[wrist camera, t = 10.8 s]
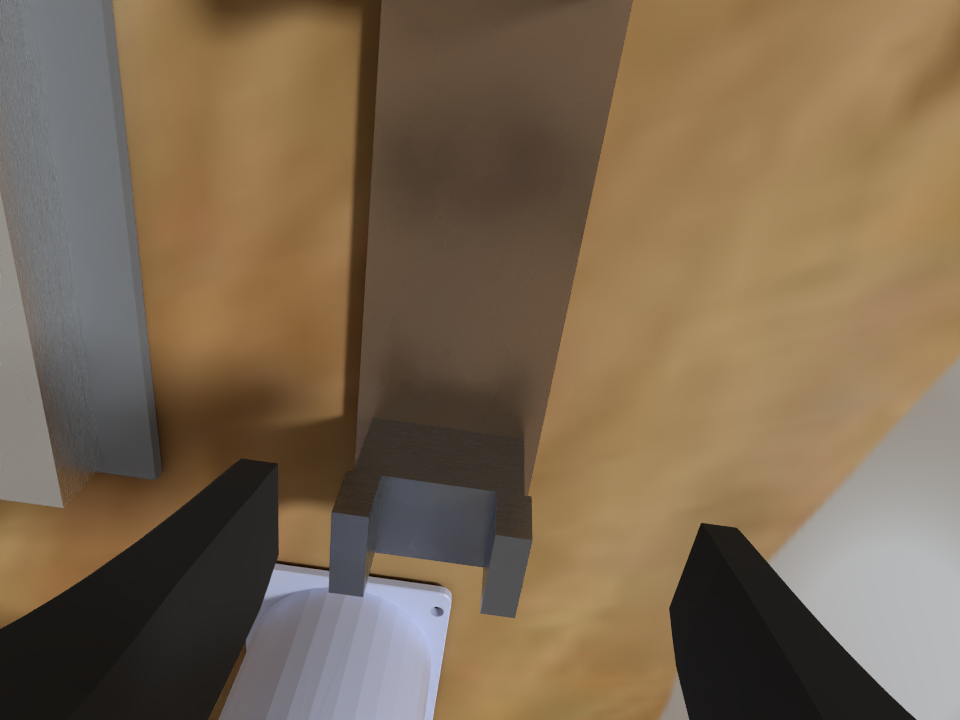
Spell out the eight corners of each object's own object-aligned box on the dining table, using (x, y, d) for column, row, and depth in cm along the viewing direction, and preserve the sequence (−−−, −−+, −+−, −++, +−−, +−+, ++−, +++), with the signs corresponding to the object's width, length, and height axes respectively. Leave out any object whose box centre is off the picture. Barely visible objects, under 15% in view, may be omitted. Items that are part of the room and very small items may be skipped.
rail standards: (519, 521, 25) (519, 642, 20) (355, 498, 25) (317, 615, 20) (673, -210, 15) (742, -302, 10) (401, -253, 15) (347, -364, 10)
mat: (162, 471, 25) (155, 480, 24) (-6, 448, 25) (-15, 456, 24) (79, -303, 15) (65, -313, 14) (-201, -348, 15) (-224, -358, 14)
